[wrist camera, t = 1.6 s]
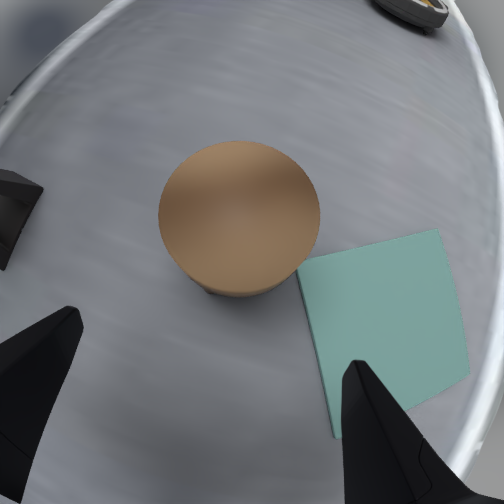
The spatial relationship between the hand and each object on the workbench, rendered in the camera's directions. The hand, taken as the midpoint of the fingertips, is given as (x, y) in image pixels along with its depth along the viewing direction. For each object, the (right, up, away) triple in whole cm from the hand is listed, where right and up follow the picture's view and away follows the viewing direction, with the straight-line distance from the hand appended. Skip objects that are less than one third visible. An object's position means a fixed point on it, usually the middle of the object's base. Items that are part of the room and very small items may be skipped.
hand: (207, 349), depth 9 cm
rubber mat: (+13, -3, +12) cm, 18 cm away
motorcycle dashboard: (+29, +52, +28) cm, 65 cm away
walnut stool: (0, +2, +13) cm, 13 cm away
